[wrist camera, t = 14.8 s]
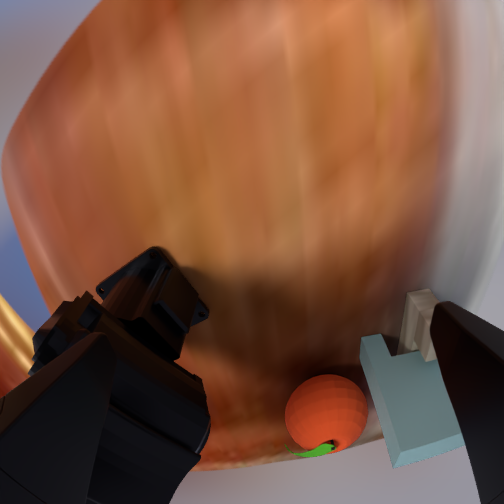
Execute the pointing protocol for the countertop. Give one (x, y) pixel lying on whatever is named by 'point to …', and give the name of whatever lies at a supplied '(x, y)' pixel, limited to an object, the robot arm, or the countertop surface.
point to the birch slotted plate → (418, 324)
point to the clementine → (326, 414)
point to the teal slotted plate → (409, 403)
